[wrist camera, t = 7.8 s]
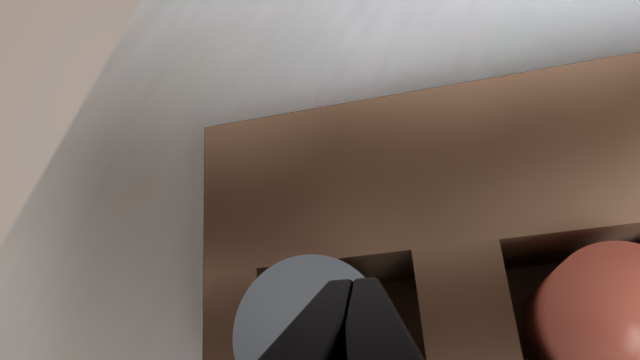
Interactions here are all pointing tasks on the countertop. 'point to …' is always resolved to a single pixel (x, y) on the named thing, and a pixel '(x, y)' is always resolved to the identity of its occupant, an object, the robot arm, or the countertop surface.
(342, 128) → the wooden socket block
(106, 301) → the countertop surface
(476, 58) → the countertop surface
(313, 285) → the grey rounded block
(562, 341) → the brick key
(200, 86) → the countertop surface
